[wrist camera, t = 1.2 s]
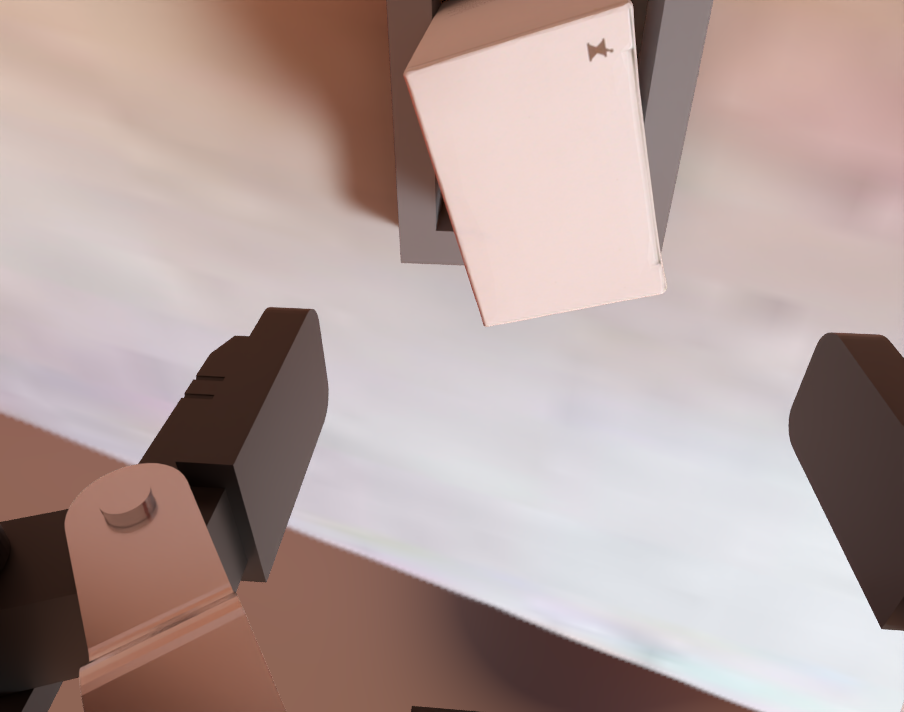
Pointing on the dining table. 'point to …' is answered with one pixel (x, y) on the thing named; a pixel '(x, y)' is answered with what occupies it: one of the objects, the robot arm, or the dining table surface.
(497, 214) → the small box
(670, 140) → the frame
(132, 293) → the dining table surface
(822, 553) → the dining table surface
